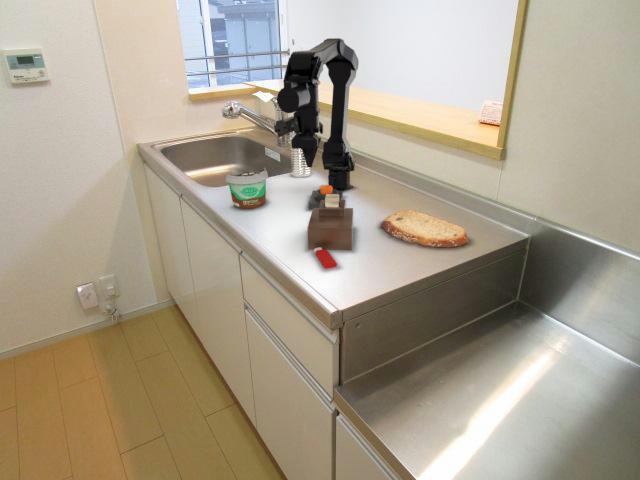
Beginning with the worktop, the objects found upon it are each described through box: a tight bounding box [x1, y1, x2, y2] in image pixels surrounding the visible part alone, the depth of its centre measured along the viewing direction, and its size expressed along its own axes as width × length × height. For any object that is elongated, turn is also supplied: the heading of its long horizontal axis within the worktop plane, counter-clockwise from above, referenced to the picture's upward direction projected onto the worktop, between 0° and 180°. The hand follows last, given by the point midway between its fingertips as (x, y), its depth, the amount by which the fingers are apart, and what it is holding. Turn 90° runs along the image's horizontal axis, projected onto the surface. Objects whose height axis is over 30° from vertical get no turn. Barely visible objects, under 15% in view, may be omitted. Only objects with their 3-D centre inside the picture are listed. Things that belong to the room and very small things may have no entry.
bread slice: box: [380, 209, 469, 248], centre depth 110 cm, size 18×18×4 cm
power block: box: [308, 188, 344, 211], centre depth 130 cm, size 11×9×4 cm
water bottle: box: [287, 112, 312, 178], centre depth 150 cm, size 7×7×25 cm
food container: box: [225, 167, 269, 211], centre depth 127 cm, size 12×6×10 cm, turn 118°
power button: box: [319, 184, 332, 194], centre depth 129 cm, size 4×4×2 cm
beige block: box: [325, 194, 339, 207], centre depth 108 cm, size 3×3×2 cm
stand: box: [307, 199, 354, 251], centre depth 107 cm, size 13×10×8 cm
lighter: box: [313, 247, 338, 269], centre depth 99 cm, size 3×1×8 cm
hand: (309, 167), depth 118 cm, fingers closed
